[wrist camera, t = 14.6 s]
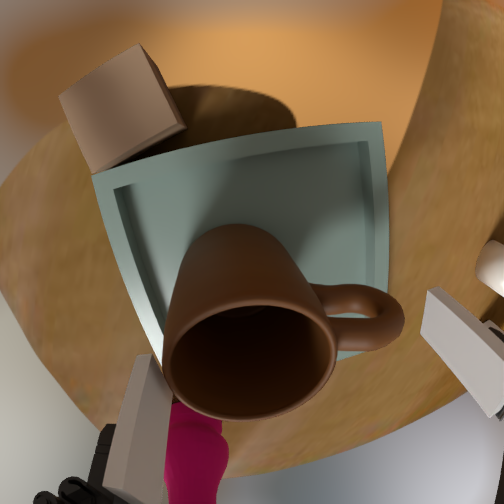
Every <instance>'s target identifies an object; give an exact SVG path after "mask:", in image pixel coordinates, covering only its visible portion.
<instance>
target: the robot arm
mask: <svg viewBox="0 0 504 504" xmlns="http://www.w3.org/2000/svg"><path fill="white" fill-rule="evenodd" d="M420 334H421V335H422V337H423V338H424V339H425V340H426V341H427V342H428V343H429V344H430V346H431V347H432V348H433V349H434V350H435V351H436V353H437V354H438V355H439V356H440V357H441V358H442V360H443V361H444V362H445V363H446V364H447V366H448V367H449V368H450V369H451V370H452V372H453V373H454V374H455V375H456V376H457V378H458V379H459V380H460V381H461V383H462V384H463V385H464V386H465V388H466V389H467V390H468V391H469V393H470V394H471V395H472V396H473V398H474V399H475V400H476V402H477V403H478V404H479V405H480V407H481V408H482V409H483V411H484V412H485V414H486V415H487V416H488V417H489V418H491V417H492V416H493V415H495V414H496V413H497V412H499V411H500V410H501V408H502V407H503V405H504V334H503V333H501V332H500V331H499V330H497V329H495V328H493V327H489V328H487V327H486V326H485V325H484V324H483V323H482V322H481V321H479V320H478V319H477V318H476V317H475V316H474V315H473V314H471V313H470V312H469V311H468V310H467V309H466V308H464V307H463V306H462V305H461V304H460V303H458V302H457V301H456V300H455V299H454V298H452V297H451V296H450V295H449V294H448V293H446V292H445V291H444V290H443V289H441V288H440V287H439V286H438V287H435V288H432V289H430V290H427V297H426V304H425V310H424V316H423V321H422V326H421V332H420ZM172 397H173V392H172V391H171V389H170V388H169V386H168V384H167V382H166V380H165V378H164V376H163V374H162V372H161V370H160V368H159V366H158V364H157V362H156V360H155V358H154V356H153V354H145V355H137V357H136V360H135V363H134V366H133V369H132V373H131V376H130V379H129V382H128V386H127V389H126V392H125V396H124V399H123V403H122V406H121V410H120V413H119V417H118V421H117V424H106V426H105V427H104V428H103V430H102V431H101V433H100V435H99V439H98V442H97V444H98V445H97V446H96V450H95V454H94V457H93V461H92V465H91V469H90V473H89V477H88V482H85V481H84V480H82V479H80V478H79V477H68V478H66V479H65V480H63V481H62V482H61V484H60V486H59V489H58V495H59V497H56V496H55V495H53V494H52V493H50V492H48V491H41V492H39V493H38V494H37V495H36V496H35V498H34V501H33V504H162V491H163V479H164V467H165V456H166V447H167V437H168V428H169V420H170V412H171V404H172ZM503 418H504V412H503V414H502V415H501V417H500V421H502V419H503ZM495 504H504V455H503V462H502V468H501V475H500V480H499V486H498V490H497V495H496V499H495Z"/></svg>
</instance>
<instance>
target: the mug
mask: <svg viewBox="0 0 504 504" xmlns="http://www.w3.org/2000/svg"><path fill="white" fill-rule="evenodd" d="M343 313H358V314H363V315H365V316H367V317H369V318H344V317H329V316H327V315H337V314H343ZM404 323H405V317H404V313H403V309H402V307H401V305H400V304H399V303H398V302H397V300H396V299H395V298H393V297H392V296H390V295H389V294H387V293H385V292H383V291H381V290H379V289H377V288H374V287H371V286H367V285H361V284H338V285H323V284H314V283H309V282H308V281H307V280H306V278H305V277H304V275H303V274H302V272H301V270H300V269H299V267H298V266H297V265H296V263H295V262H294V261H293V259H292V258H291V256H290V254H289V253H288V251H287V250H286V249H285V247H284V246H283V245H282V244H281V242H280V241H279V240H277V239H276V238H275V237H274V236H273V235H271V234H270V233H268V232H267V231H265V230H263V229H261V228H258V227H255V226H252V225H247V224H227V225H222V226H219V227H216V228H213V229H211V230H209V231H207V232H206V233H204V234H203V235H201V236H200V237H199V238H198V239H196V240H195V241H194V242H193V244H192V245H191V246H190V247H189V249H188V250H187V252H186V253H185V255H184V257H183V259H182V262H181V265H180V268H179V271H178V275H177V279H176V283H175V286H174V289H173V293H172V297H171V301H170V305H169V309H168V314H167V318H166V322H165V328H164V337H163V350H162V371H163V374H164V378H165V380H166V382H167V384H168V386H169V388H170V389H171V391H172V392H173V394H174V395H175V396H176V397H177V398H178V399H179V400H180V401H181V402H182V403H183V404H185V405H186V406H187V407H189V408H191V409H192V410H194V411H196V412H198V413H200V414H202V415H205V416H208V417H211V418H215V419H219V420H224V421H233V422H251V421H260V420H265V419H270V418H273V417H277V416H280V415H283V414H285V413H288V412H290V411H292V410H294V409H296V408H298V407H300V406H301V405H303V404H304V403H306V402H307V401H309V400H310V399H311V398H312V397H314V396H315V395H316V394H317V393H318V392H319V391H320V390H321V389H322V388H323V387H324V385H325V384H326V383H327V381H328V380H329V378H330V376H331V374H332V372H333V370H334V367H335V364H336V360H337V355H338V351H364V352H369V351H374V350H377V349H380V348H382V347H385V346H387V345H388V344H390V343H391V342H392V341H394V340H395V339H396V338H398V337H399V336H400V334H401V332H402V329H403V326H404Z"/></svg>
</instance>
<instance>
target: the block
mask: <svg viewBox="0 0 504 504" xmlns="http://www.w3.org/2000/svg"><path fill="white" fill-rule="evenodd" d="M58 97H59V99H60V102H61V104H62V107H63V110H64V112H65V114H66V117H67V119H68V122H69V124H70V127H71V129H72V131H73V134H74V136H75V138H76V140H77V143H78V145H79V147H80V149H81V151H82V154H83V156H84V158H85V160H86V162H87V164H88V166H89V168H90V170H91V172H92V174H94V173H97V172H100V171H104V170H108V169H111V168H115V167H119V166H122V165H124V164H125V163H127V162H129V161H130V160H132V159H134V158H135V157H137V156H139V155H140V154H142V153H144V152H145V151H147V150H149V149H151V148H152V147H154V146H156V145H158V144H160V143H161V142H163V141H165V140H167V139H169V138H171V137H173V136H175V135H177V134H178V133H180V132H182V131H184V130H186V129H188V128H187V126H186V124H185V122H184V120H183V118H182V116H181V114H180V112H179V110H178V108H177V106H176V104H175V102H174V100H173V98H172V96H171V94H170V91H169V89H168V87H167V85H166V83H165V81H164V79H163V77H162V75H161V73H160V71H159V69H158V67H157V65H156V64H155V63H154V62H153V60H152V59H151V58H150V56H149V55H148V54H147V53H146V51H145V50H144V49H143V47H142V46H141V45H140V44H139V43H138V44H136V45H134V46H132V47H130V48H129V49H127V50H125V51H123V52H122V53H120V54H118V55H117V56H115V57H114V58H112V59H110V60H109V61H107V62H105V63H104V64H102V65H101V66H99V67H98V68H96V69H95V70H93V71H92V72H90V73H89V74H88V75H86V76H84V77H83V78H82V79H80V80H79V81H77V82H76V83H75V84H73V85H72V86H71V87H70V88H68V89H67V90H66V91H64V92H63V93H62V94H61V95H59V96H58Z"/></svg>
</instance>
